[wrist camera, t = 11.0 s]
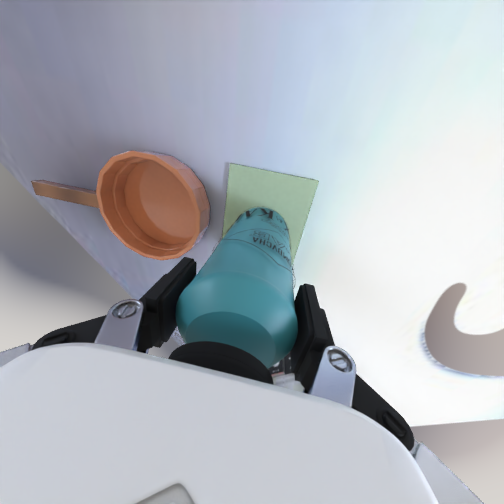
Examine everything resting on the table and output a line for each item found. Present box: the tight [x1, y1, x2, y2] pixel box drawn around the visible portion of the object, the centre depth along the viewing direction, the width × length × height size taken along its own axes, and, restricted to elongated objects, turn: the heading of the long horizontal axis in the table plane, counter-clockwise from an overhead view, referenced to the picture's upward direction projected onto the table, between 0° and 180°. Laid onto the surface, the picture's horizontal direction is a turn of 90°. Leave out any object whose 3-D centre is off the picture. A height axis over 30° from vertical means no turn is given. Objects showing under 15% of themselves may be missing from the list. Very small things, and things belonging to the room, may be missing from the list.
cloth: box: [222, 163, 319, 264], centre depth 24 cm, size 10×13×1 cm
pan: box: [96, 151, 210, 260], centre depth 23 cm, size 12×12×4 cm
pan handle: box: [31, 180, 99, 208], centre depth 22 cm, size 8×2×1 cm, turn 80°
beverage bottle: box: [168, 206, 298, 385], centre depth 14 cm, size 6×7×20 cm
